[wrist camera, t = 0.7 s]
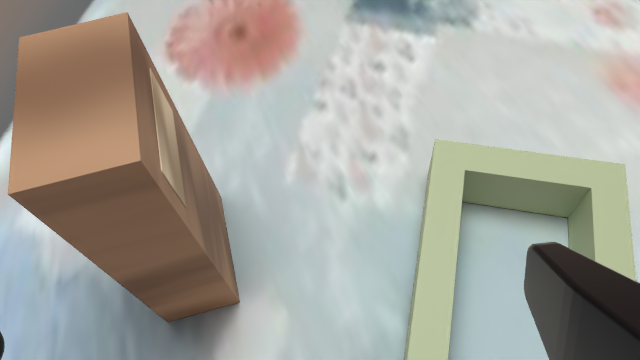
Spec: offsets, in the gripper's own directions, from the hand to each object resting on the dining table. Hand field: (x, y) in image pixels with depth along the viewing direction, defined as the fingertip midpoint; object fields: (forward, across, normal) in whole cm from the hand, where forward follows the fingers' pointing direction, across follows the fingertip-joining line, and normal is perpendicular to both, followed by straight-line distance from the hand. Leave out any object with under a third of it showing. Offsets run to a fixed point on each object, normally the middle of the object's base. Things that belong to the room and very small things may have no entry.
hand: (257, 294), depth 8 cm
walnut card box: (+15, +6, +9) cm, 18 cm away
